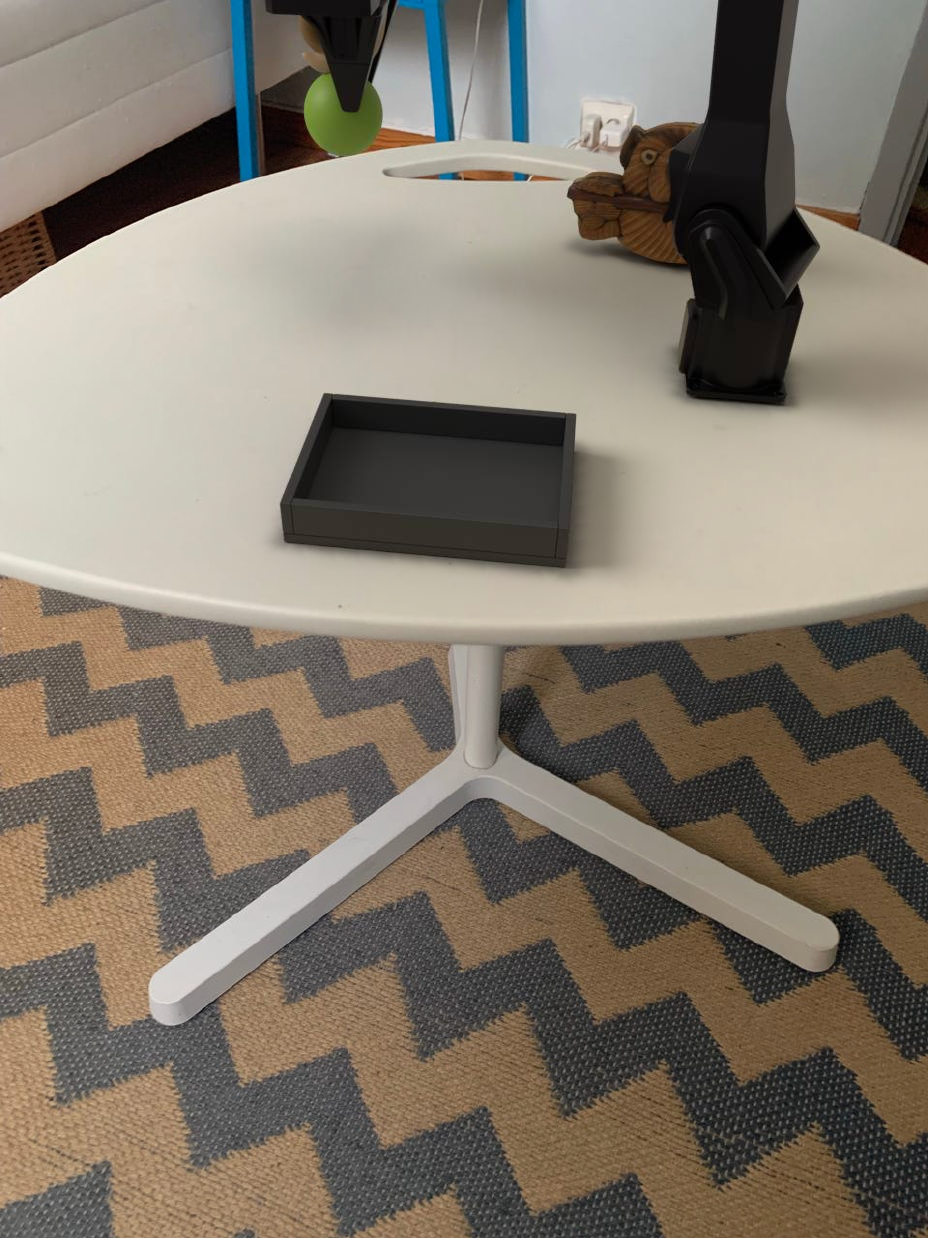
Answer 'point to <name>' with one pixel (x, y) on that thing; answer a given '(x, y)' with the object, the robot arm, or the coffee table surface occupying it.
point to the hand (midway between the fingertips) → (355, 103)
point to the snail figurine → (338, 106)
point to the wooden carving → (633, 194)
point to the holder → (434, 480)
